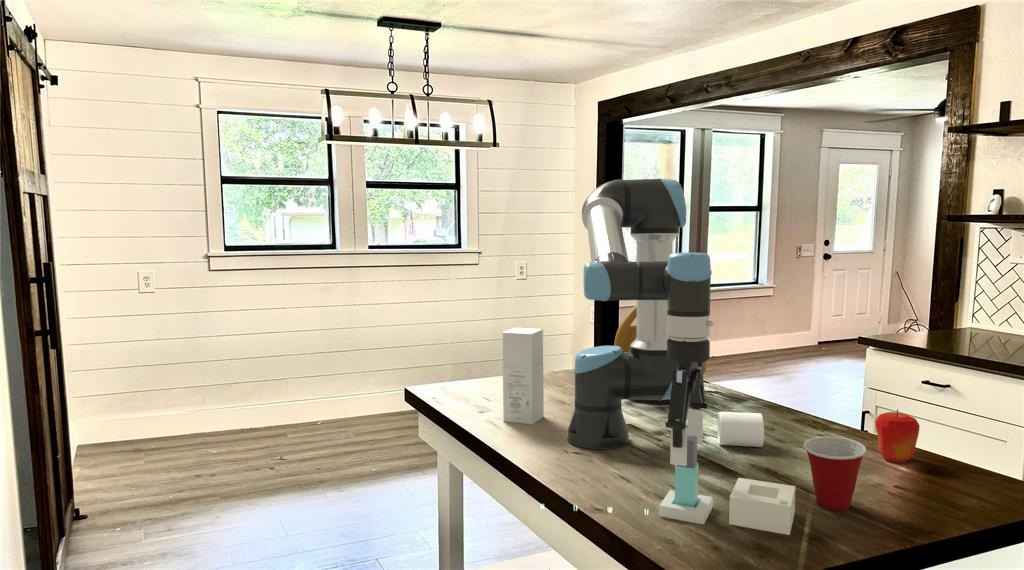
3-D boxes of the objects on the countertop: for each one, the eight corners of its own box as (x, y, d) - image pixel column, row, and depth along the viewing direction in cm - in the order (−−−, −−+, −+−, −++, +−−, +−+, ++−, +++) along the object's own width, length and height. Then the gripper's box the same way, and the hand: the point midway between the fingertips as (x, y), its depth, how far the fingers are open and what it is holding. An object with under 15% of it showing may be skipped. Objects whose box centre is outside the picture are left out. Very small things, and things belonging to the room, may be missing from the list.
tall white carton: (544, 416, 195) (543, 328, 192) (533, 425, 186) (532, 333, 184) (515, 413, 198) (514, 327, 196) (503, 421, 190) (502, 332, 187)
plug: (674, 513, 127) (675, 439, 125) (678, 506, 130) (679, 433, 128) (693, 517, 125) (694, 441, 124) (697, 509, 128) (698, 436, 127)
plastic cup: (790, 503, 133) (791, 442, 132) (821, 490, 139) (823, 432, 138) (844, 522, 124) (846, 458, 123) (875, 508, 130) (877, 446, 129)
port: (729, 529, 122) (729, 494, 122) (737, 508, 131) (738, 476, 130) (789, 540, 118) (790, 504, 117) (794, 517, 127) (795, 484, 126)
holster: (659, 521, 126) (659, 505, 125) (669, 505, 133) (670, 490, 133) (703, 529, 122) (704, 513, 122) (712, 512, 129) (712, 497, 129)
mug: (763, 451, 163) (764, 418, 163) (720, 449, 165) (720, 416, 165) (756, 436, 175) (757, 405, 174) (715, 434, 177) (716, 403, 176)
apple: (925, 462, 155) (928, 410, 154) (902, 468, 151) (904, 415, 150) (889, 451, 162) (891, 401, 161) (866, 456, 159) (868, 406, 158)
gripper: (694, 350, 112) (693, 478, 113) (721, 330, 134) (720, 437, 136) (649, 347, 115) (648, 471, 117) (683, 328, 137) (682, 432, 139)
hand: (687, 453), depth 126 cm, fingers open, 13 cm apart
